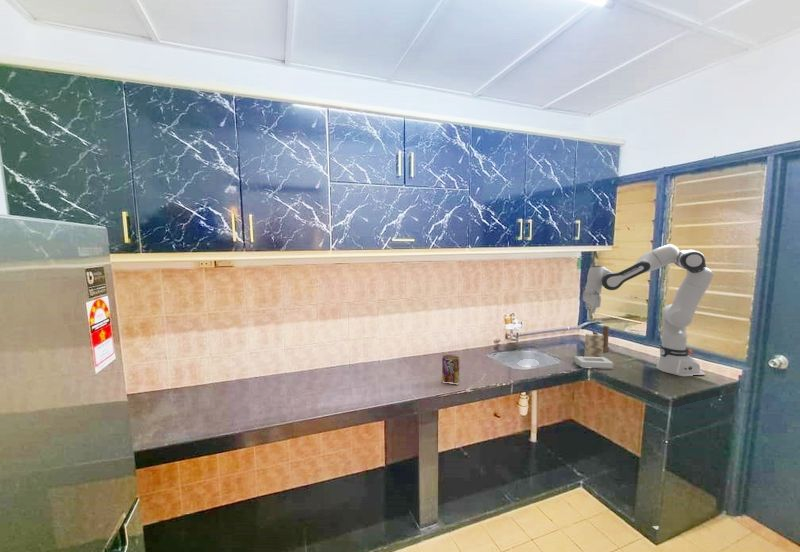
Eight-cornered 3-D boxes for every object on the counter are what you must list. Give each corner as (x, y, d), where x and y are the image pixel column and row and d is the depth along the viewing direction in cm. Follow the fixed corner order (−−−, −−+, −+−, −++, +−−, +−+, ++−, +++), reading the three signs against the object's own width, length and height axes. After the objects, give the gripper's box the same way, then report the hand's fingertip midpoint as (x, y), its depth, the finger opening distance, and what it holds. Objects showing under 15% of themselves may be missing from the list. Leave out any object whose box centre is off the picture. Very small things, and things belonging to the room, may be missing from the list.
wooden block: (591, 351, 231) (593, 326, 229) (604, 350, 234) (606, 325, 232) (595, 353, 228) (597, 327, 226) (608, 352, 230) (610, 326, 228)
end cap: (604, 363, 210) (604, 357, 209) (612, 369, 200) (613, 363, 199) (574, 362, 211) (574, 356, 211) (581, 368, 202) (581, 362, 201)
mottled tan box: (600, 358, 219) (601, 334, 217) (602, 359, 216) (604, 335, 214) (584, 357, 220) (585, 334, 218) (586, 359, 217) (587, 335, 215)
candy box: (459, 382, 182) (459, 355, 180) (458, 385, 178) (458, 358, 176) (443, 380, 185) (443, 353, 183) (441, 383, 181) (442, 356, 179)
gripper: (605, 293, 204) (601, 315, 206) (592, 288, 224) (589, 308, 226) (594, 292, 205) (590, 314, 207) (582, 287, 225) (579, 306, 227)
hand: (589, 311), depth 217 cm, fingers open, 8 cm apart
